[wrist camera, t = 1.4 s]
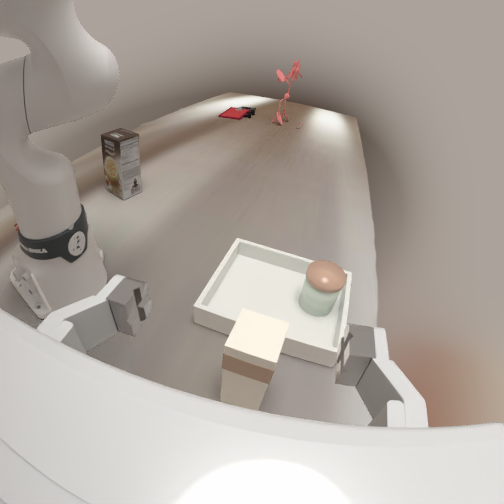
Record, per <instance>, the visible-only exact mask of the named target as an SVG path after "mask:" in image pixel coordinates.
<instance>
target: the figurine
mask: <svg viewBox="0 0 504 504" xmlns="http://www.w3.org/2000/svg"><path fill="white" fill-rule="evenodd" d="M299 69H300V64H299V60H297V62H295V61H294V63H293V69H292V71H291V72H290V73H291V74H290V73H289V74H290V76H289V77H288V79H289V78H290V77H292V82H294V79H295V78H296V79H297V77H298V73H299ZM289 74H288V75H289ZM288 75H287V76H288ZM299 75H300V76H301V74H300V73H299ZM277 76H278V81H279V82H280V81H282V82H284V80H286V79H287V78H286V77H287V76H286V77H285V78H284V75H283V73H282V72H281V71H280V70H279V69H278V70H277ZM301 77H302V76H301ZM288 79H287V80H288ZM287 80H286V82H287V83H288V84H289V82H288V81H287ZM289 88H290V84H289ZM288 93H289V89H288ZM284 97H285V98H286V99H288V98H289V97H290V95H289V94H285V95H284ZM286 99H285V103H286ZM282 100H283V99H282ZM282 100H281V101H282ZM279 110H280V103H279ZM283 114H285V110H283V113H282V115H283ZM282 115H281V116H282ZM281 116H280V114H279V113H278V112H277V116H276V117H275V118H274V120H275V119H276V118H277V119H278V121H279V123H280V124H281V126H282V118H281ZM285 116H286V114H285ZM286 119H287V121H288V118H287V116H286ZM274 120H273V121H274ZM273 121H272V122H271V123H273ZM299 124H300V123H299ZM268 125H269V124H268ZM296 129H298V128H296Z"/></svg>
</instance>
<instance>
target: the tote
mask: <svg viewBox="0 0 504 504" xmlns="http://www.w3.org/2000/svg"><path fill="white" fill-rule="evenodd" d="M312 262H314V261H313V260H309V259H306V258H303V257H299V256H296V255H293V254H289V253H286V252H283V251H279V250H276V249H273V248H269V247H266V246H263V245H259V244H256V243H253V242H249V241H246V240H242V239H239V238H237V239H236V240H235V242H234V243H233V245H232V247H231V248H230V250H229V251H228V253H227V254H226V256H225V257H224V259H223V260H222V262H221V264H220V265H219V267H218V268H217V270H216V271H215V273H214V274H213V276H212V278H211V279H210V281H209V282H208V284H207V285H206V287H205V289H204V290H203V292H202V293H201V295H200V296H199V298H198V300H197V301H196V303H195V304H194V306H193V307H194V323H197V324H199V325H202V326H205V327H207V328H210V329H213V330H215V331H218V332H221V333H224V334H227V335H230V333H231V331H232V329H233V327H234V325H235V323H236V321H237V319H238V317H239V314H240V312H241V310H242V308H245V309H248V310H251V311H254V312H257V313H260V314H263V315H266V316H269V317H273V318H276V319H279V320H282V321H285V322H289V323H290V324H289V327H288V330H287V334H286V337H285V340H284V343H283V346H282V349H281V352H280V353H284V354H287V355H290V356H293V357H297V358H300V359H303V360H307V361H310V362H314V363H317V364H321V365H324V366H328V367H332V368H333V366H334V365H335V363H336V362H337V350H338V346H339V343H340V340H341V338H342V337H344V330H345V327H346V322H347V314H348V306H349V297H350V288H351V278H352V272H349V271H346V270H343V271H344V272H345V274H346V278H347V280H346V283H345V285H344V287H343V288H342V289H341V291H340V293H339V295H338V298H337V300H336V302H335V304H334V306H333V308H332V311H331V312H330V313H329V314H328V315H326V316H322V317H316V316H312V315H309V314H307V313H306V312H305V311H303V310H302V308H301V307H300V305H299V296H300V293H301V290H302V287H303V284H304V281H305V278H306V271H307V268H308V266H309V264H310V263H312Z"/></svg>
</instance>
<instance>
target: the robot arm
mask: <svg viewBox="0 0 504 504" xmlns="http://www.w3.org/2000/svg"><path fill="white" fill-rule="evenodd" d="M0 36H3V37H9V38H15V39H19V40H21V41H23V42H24V43H26V45H27V46H28V47H29V49H30V51H31V53H30V54H29V55H26V56H24V57H21V58H18V59H14V60H11V61H8V62H5V63H2V64H0V183H1V185H2V186H3V188H4V190H5V193H6V195H7V198H8V200H9V203H10V205H11V208H12V211H13V213H14V216H15V219H16V222H17V224H15V225H14V226H16V225H18V227H17V228H16V231H17V230H18V236H19V237H18V240H19V243H18V245H17V246H16V247H15V249H14V251H13V253H12V260H13V262H14V265H15V267H14V268H13V270H12V272H11V274H10V280H11V283H12V284H13V285H14V287H15V288H16V290H17V291H18V292H19V294H20V295H21V296H22V298H23V299H24V300H25V301H26V303H27V304H28V305H29V307H30V308H31V309H32V310H33V312H34V313H35V314H36V315H37V316H38V318H40V319H45V320H44V321H43V322H42V323H41V324H40V325H39V326H38V327H37V329H34V328H33V327H31V326H29V325H27V324H26V323H24V322H22V321H21V320H19V319H17V318H15V317H14V316H12V315H11V314H9V313H7V312H6V311H4V310H2V309H1V308H0V504H504V424H503V423H499V422H496V423H495V422H494V423H485V424H477V425H466V426H450V427H428V419H427V411H426V403H425V400H424V399H423V398H422V396H421V395H420V394H419V393H418V391H417V390H416V389H415V388H414V386H413V385H412V384H411V383H410V381H409V380H408V379H407V378H406V376H405V375H404V374H403V373H402V371H401V370H400V369H399V368H398V367H397V365H396V364H395V363H394V362H393V361H390V360H389V354H388V346H387V338H386V331H385V329H384V328H378V327H369V326H362V325H355V324H347V325H346V327H345V330H344V337H342V338H341V340H340V343H339V346H338V350H337V362H338V364H339V365H338V367H337V369H336V382H335V384H342V385H348V386H355V387H356V389H357V391H358V393H359V395H360V396H361V398H362V400H363V402H364V404H365V405H366V407H367V409H368V411H369V413H370V415H371V417H372V418H373V420H372V421H371V423H370V424H369V425H368V426H361V425H349V424H339V423H330V422H322V421H314V420H307V419H300V418H294V417H288V416H282V415H277V414H271V413H266V412H261V411H256V410H252V409H247V408H243V407H238V406H234V405H230V404H226V403H222V402H218V401H214V400H211V399H207V398H203V397H200V396H196V395H193V394H190V393H186V392H183V391H180V390H177V389H174V388H171V387H167V386H164V385H162V384H159V383H156V382H153V381H150V380H147V379H144V378H142V377H139V376H136V375H134V374H131V373H128V372H126V371H123V370H121V369H118V368H116V367H113V366H111V365H109V364H106V363H104V362H102V361H99V360H97V359H95V358H93V357H90V356H88V355H87V353H86V352H87V351H88V350H90V349H92V348H93V347H95V346H96V345H98V344H100V343H101V342H103V341H105V340H106V339H108V338H110V337H111V336H113V335H115V334H116V333H118V332H121V333H124V334H128V335H131V336H135V335H136V333H137V332H138V331H139V329H140V328H141V321H143V320H145V319H147V317H148V316H149V314H150V311H151V306H152V302H151V298H150V297H149V295H148V294H147V293H148V291H149V287H148V284H147V283H146V282H143V281H139V280H136V279H132V278H129V277H124V276H121V275H115V276H114V277H113V278H112V279H111V280H110V281H109V282H108V283H107V272H106V269H105V267H104V264H103V261H104V253H103V251H102V250H101V249H98V246H97V244H96V241H95V238H94V235H93V232H92V229H91V227H90V225H89V224H88V223H87V216H86V212H85V210H84V207H83V205H82V204H81V203H80V199H79V193H78V188H77V182H76V176H75V170H74V167H73V165H72V163H71V162H70V160H69V159H68V158H66V157H65V156H64V155H62V154H60V153H58V152H55V151H50V150H45V149H41V148H38V147H36V146H35V145H33V144H32V143H31V142H30V140H29V138H28V135H30V134H31V133H33V132H37V131H40V130H43V129H47V128H50V127H54V126H58V125H62V124H65V123H69V122H73V121H76V120H79V119H81V118H83V117H86V116H89V115H91V114H93V113H95V112H98V111H100V110H103V109H105V108H106V107H107V106H108V104H109V103H110V102H111V100H112V98H113V96H114V94H115V92H116V90H117V86H118V81H119V68H118V64H117V61H116V58H115V57H114V55H113V54H112V52H111V51H110V50H109V49H108V48H107V47H106V46H104V45H102V44H101V43H99V42H97V41H96V40H94V39H93V38H92V37H91V36H90V35H89V34H88V33H87V32H86V31H85V30H84V29H83V27H82V26H81V24H80V23H79V21H78V18H77V16H76V13H75V9H74V4H73V0H0ZM106 283H107V284H106Z"/></svg>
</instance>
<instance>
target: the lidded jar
mask: <svg viewBox="0 0 504 504" xmlns="http://www.w3.org/2000/svg"><path fill="white" fill-rule="evenodd" d="M346 280H347V278H346V274H345V272H344V271H343V269H342V268H341V267H339V266H338V265H337V264H335V263H333V262H330V261H326V260H317V261H314V262H312V263H310V264H309V266H308V268H307V271H306V278H305V281H304V284H303V287H302V290H301V293H300V296H299V305H300V307H301V308H302V310H303V311H305V312H306V313H307V314H309V315H312V316H316V317H322V316H326V315H328V314H329V313H330V312H331V311H332V308H333V306H334V304H335V302H336V300H337V298H338V295H339V293H340V291H341V289H342V288H343V287H344V285H345V283H346Z"/></svg>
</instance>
